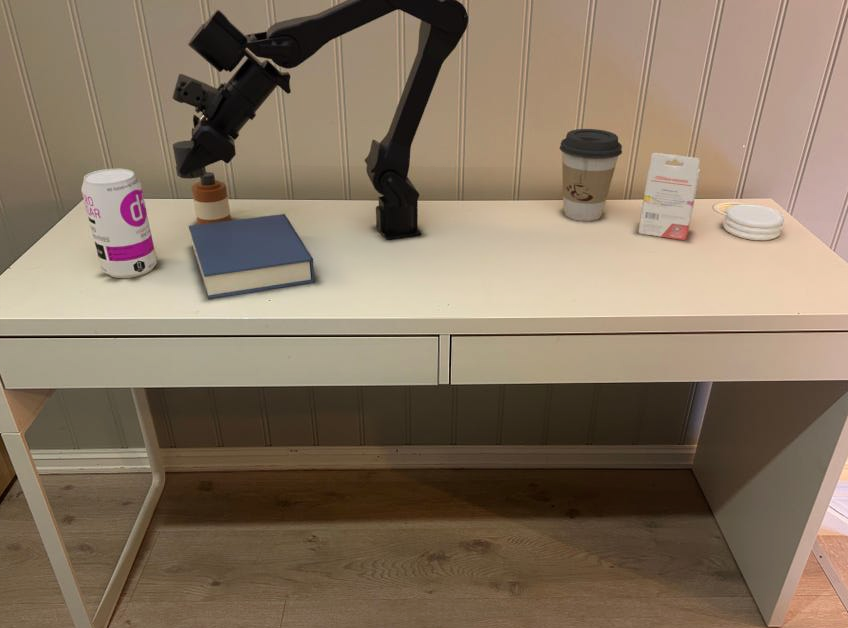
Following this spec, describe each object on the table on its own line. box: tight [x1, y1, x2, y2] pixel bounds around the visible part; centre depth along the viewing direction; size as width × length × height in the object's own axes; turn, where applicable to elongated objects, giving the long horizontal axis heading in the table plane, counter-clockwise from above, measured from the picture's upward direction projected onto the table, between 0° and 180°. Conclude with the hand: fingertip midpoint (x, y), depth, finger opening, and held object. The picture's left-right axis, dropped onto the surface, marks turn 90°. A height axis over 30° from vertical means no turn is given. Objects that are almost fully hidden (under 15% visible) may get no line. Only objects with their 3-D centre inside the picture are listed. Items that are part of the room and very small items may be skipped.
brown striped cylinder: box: [191, 171, 232, 225], centre depth 130 cm, size 6×6×9 cm
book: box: [188, 213, 316, 300], centre depth 117 cm, size 16×20×4 cm
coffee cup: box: [559, 128, 623, 222], centre depth 136 cm, size 11×11×15 cm
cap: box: [172, 140, 207, 180], centre depth 115 cm, size 4×4×5 cm
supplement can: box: [80, 168, 158, 279], centre depth 112 cm, size 8×8×15 cm
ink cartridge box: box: [638, 152, 701, 241], centre depth 129 cm, size 9×5×15 cm, turn 68°
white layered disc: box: [722, 203, 785, 241], centre depth 134 cm, size 10×10×4 cm
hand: (181, 168), depth 116 cm, fingers closed on cap, 4 cm apart
